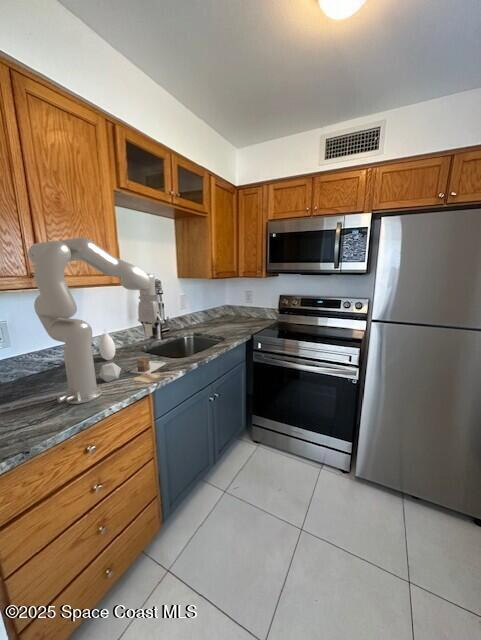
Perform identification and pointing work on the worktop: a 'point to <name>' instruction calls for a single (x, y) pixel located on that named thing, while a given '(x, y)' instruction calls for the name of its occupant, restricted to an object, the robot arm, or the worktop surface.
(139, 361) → the walnut block
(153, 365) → the tray
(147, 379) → the pad
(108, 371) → the die
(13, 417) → the worktop surface
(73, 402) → the robot arm
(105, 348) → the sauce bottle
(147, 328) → the label box
